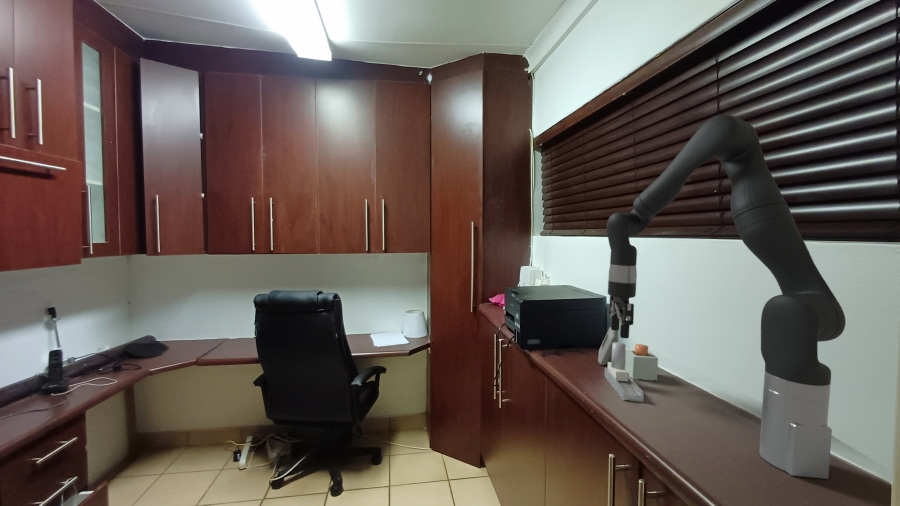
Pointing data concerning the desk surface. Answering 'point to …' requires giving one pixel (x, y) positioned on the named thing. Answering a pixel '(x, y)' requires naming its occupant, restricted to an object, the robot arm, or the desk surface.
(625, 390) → the rail
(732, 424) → the desk surface
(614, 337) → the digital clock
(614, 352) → the carriage
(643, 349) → the button
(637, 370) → the button housing
